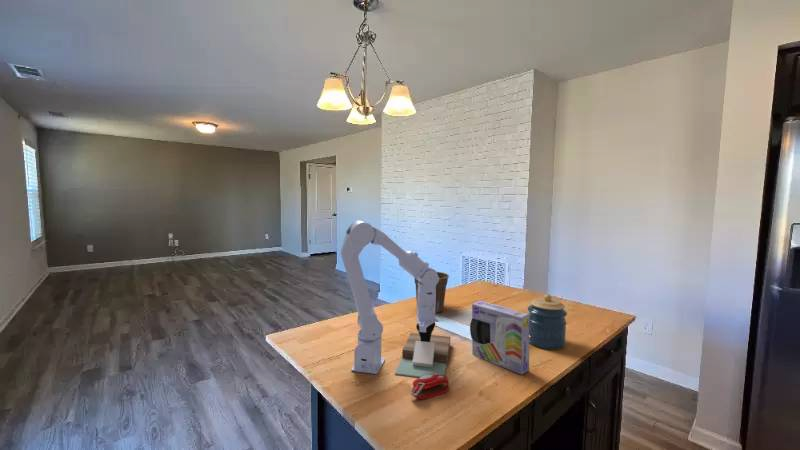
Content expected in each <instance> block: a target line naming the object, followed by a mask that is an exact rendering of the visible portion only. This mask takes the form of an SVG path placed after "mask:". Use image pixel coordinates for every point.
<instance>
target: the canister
mask: <svg viewBox="0 0 800 450" xmlns="http://www.w3.org/2000/svg"><path fill="white" fill-rule="evenodd" d="M565 308H566V306H565V304H564V303H562V302H561V300H558V299H555V298H553V297H552V295H550V294H549V293H548V294H547V293H545V294H544V296H543V297H542V296H541V297H536V298H534V299H532V300H530V305H528V306H527V310H528V314H529V335H530V336H531V337H530V339H529V341H530V343H529V345H532V346H534V347H537V348H540V349H543V350H544V349H545V350H551V351H554V350H556V351H557V350H562V349H564V347H565V344H566V340H567V339H566V329H567V322H568V321H566V316H568V312H567V310H565Z"/></svg>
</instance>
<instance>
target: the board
mask: <svg viewBox="0 0 800 450" xmlns="http://www.w3.org/2000/svg"><path fill="white" fill-rule="evenodd" d="M416 341H421V339H420V335H419V333H415V332H410V334H409V336H408V337H407V340H406V341H405V344H404V346H403V347H402V352H401V353H402V354H401V355H402V356H401V357H402V358H403V359H412V360H413V355H414V349H415V342H416ZM430 342H432V343H435V351H434V360H433V362H437V363H445V364H446V365H447V363H448V358H449V352H450V348H451V336H447V335H446V336H445V335H435V334H431V339H430ZM402 358H401V359H402Z"/></svg>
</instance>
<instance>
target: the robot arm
mask: <svg viewBox="0 0 800 450" xmlns="http://www.w3.org/2000/svg"><path fill="white" fill-rule="evenodd" d="M370 243H371V244H372V245H377V246H378V245H379V246H381V247H382V248H384V249H385V250H386V251H387V252H388V253H390V254H392V256H394V257H395V258H396V259H398V265H399V267H401V268H402V269H403V270H404V271H406V272H407V273H408V274H409V275H411V276H412V277H413V278H414V277H415V278H416V280H417V281H419V282H418V299H417V300H416V309H417V310H416V318H415V319H416V322H417V323H416V331H417V332H418V334H419V335H420V339H421V341H423V342H430V339H431V335H433V334H432V333H433V331H434V329H435V326H436V323H438V322H439V321H440V318H439V317H436V313H435V304H436V285H437V283H438V282H439V277H438V274H437V272H438V271H436V270H435V269H434V268H433V267H430V265H429V264H430V263H428V261H424V260H423V259H421V258H420V257H419V254H418V253H417V252H416V251H412V250H404V249H403V248H402V247H400V246H399V245H398V244H397V243H396V242H395V241H394V240H392V239H391V238H390V236H388V235H387V234H386V233H385V232H383V231H381V230H379V229H378V228H376V227H374V226H373V225H372V224H370V223H368V222H367V221H364V220H358V219H357V220H355V221H353V222H352V223H351V224H350V225H349V227H348V228H347V229H346V230H345V236H344V239H343V243H342V246H341V249H340V256H341V259H342V262H343V266H344V269H345V272H346V276H347V280H348V283H349V286H350V289H351V293H352V296H353V299H354V303H355V305H356V310H357V313H358V314H357V325H358V326H359V331H358V333H357V345H356V347H355V348H354V353H353V354H354V356H353V357H354V360H353V361H354V364H353V366H352V367H351V370H350V371H352V372H359V373H364V374H372V375H377V374H379V371H380V370H381V368H382V366H383V364H384V362H385V361H386V357H382V334H383V332H384V326H383V324H382V323H381V321H380V320H379V318H378V316H377V314H376V312H375V308H374V307H373V303H372V300H371V297H370V292H369V289H368V286H367V282H366V279H365V276H364V272H363V269H362V265H361V262H360V259H359V255H360V254H361V252H362V251H363V250H364V249H365V247H366V246H367V245H369V244H370ZM420 282H421V283H420Z"/></svg>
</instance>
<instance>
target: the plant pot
mask: <svg viewBox="0 0 800 450" xmlns="http://www.w3.org/2000/svg"><path fill="white" fill-rule="evenodd" d="M436 272H437V274H438V277H439V282H438V283H437V285H436V304H435V314H438V313H441V312H443V311H444V307H445V306H444V305H445V299H446V290H447V285H448V280H449V278H450V275H449V274H448V273H445V272H442V271H441V272H440V271H436ZM413 278H414V284H415V295H416V296H415V297H416V298H415V299H416V300H415V301H417V299H418V282H419V281H417V280H416V278H415V277H413ZM420 283H421V282H420ZM442 310H443V311H442ZM440 311H441V312H440ZM437 312H438V313H437Z"/></svg>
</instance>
